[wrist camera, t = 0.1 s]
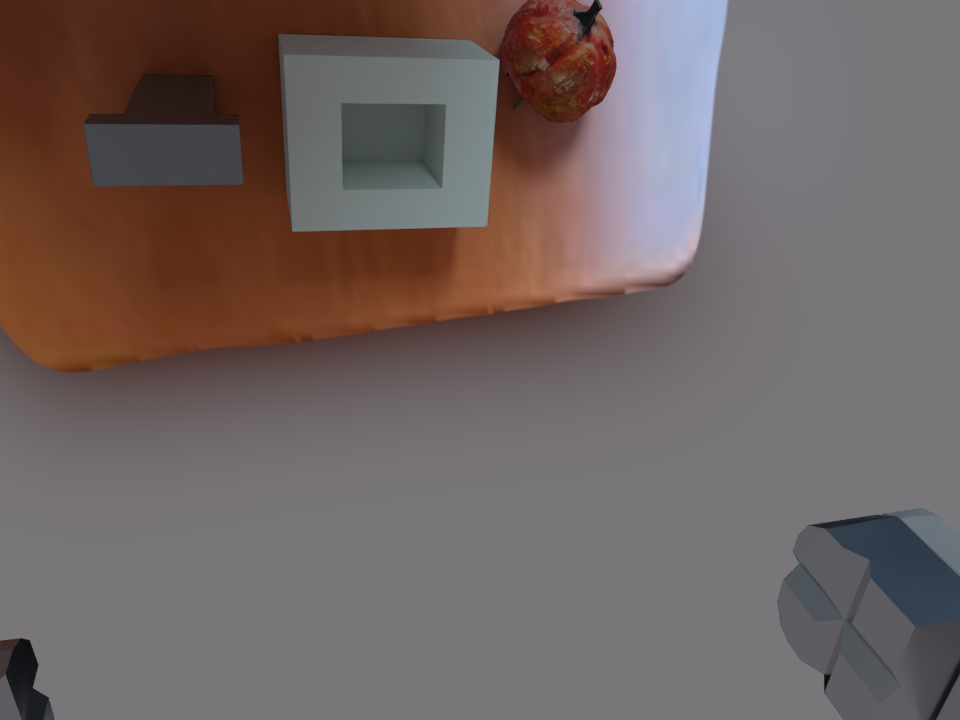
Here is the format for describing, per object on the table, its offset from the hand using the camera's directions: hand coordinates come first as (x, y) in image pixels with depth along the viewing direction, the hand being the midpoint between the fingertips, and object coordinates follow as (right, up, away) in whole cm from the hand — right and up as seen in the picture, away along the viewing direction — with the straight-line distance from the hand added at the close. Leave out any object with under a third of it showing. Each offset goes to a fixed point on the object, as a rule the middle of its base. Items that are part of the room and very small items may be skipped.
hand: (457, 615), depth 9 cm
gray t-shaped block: (-18, +19, +41) cm, 48 cm away
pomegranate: (+4, +23, +45) cm, 51 cm away
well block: (-6, +19, +44) cm, 49 cm away
